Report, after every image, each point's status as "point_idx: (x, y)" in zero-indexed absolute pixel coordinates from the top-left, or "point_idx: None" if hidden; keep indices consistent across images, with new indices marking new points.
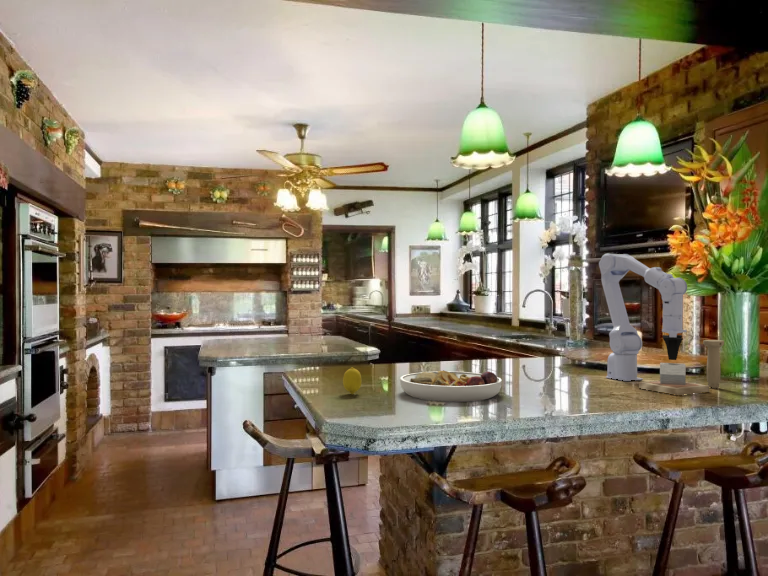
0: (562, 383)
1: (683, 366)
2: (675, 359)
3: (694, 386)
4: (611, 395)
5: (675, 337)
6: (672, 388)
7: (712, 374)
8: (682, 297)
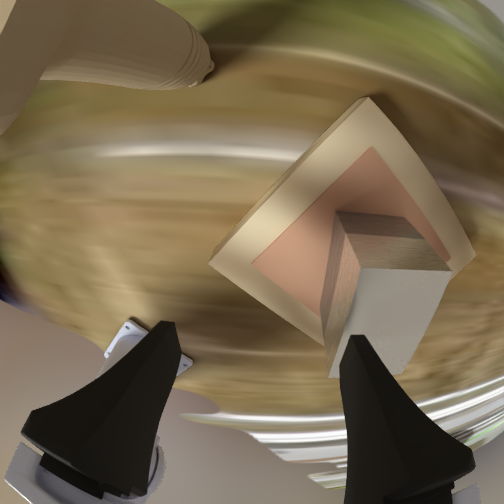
0: (293, 437)
1: (444, 277)
2: (365, 340)
3: (412, 178)
4: (443, 373)
5: (448, 493)
6: (460, 270)
7: (199, 54)
8: None
